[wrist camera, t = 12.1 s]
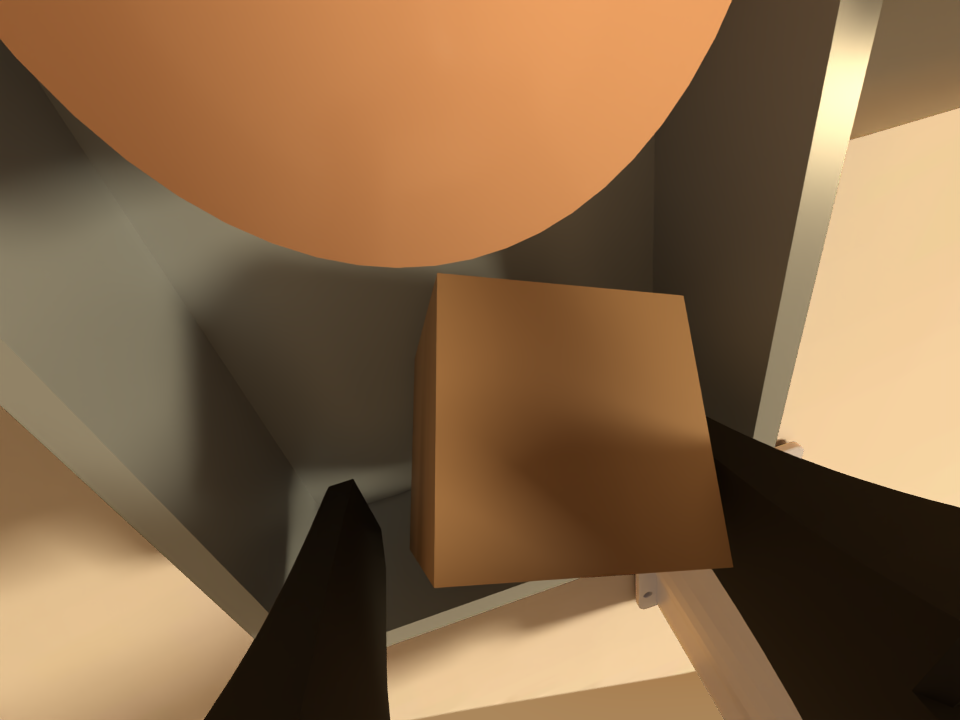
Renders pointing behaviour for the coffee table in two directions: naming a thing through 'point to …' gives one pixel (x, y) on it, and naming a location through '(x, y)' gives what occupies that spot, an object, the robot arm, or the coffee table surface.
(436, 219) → the terracotta cylinder
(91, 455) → the slate tote
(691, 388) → the walnut cube
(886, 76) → the flask
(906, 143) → the coffee table surface
